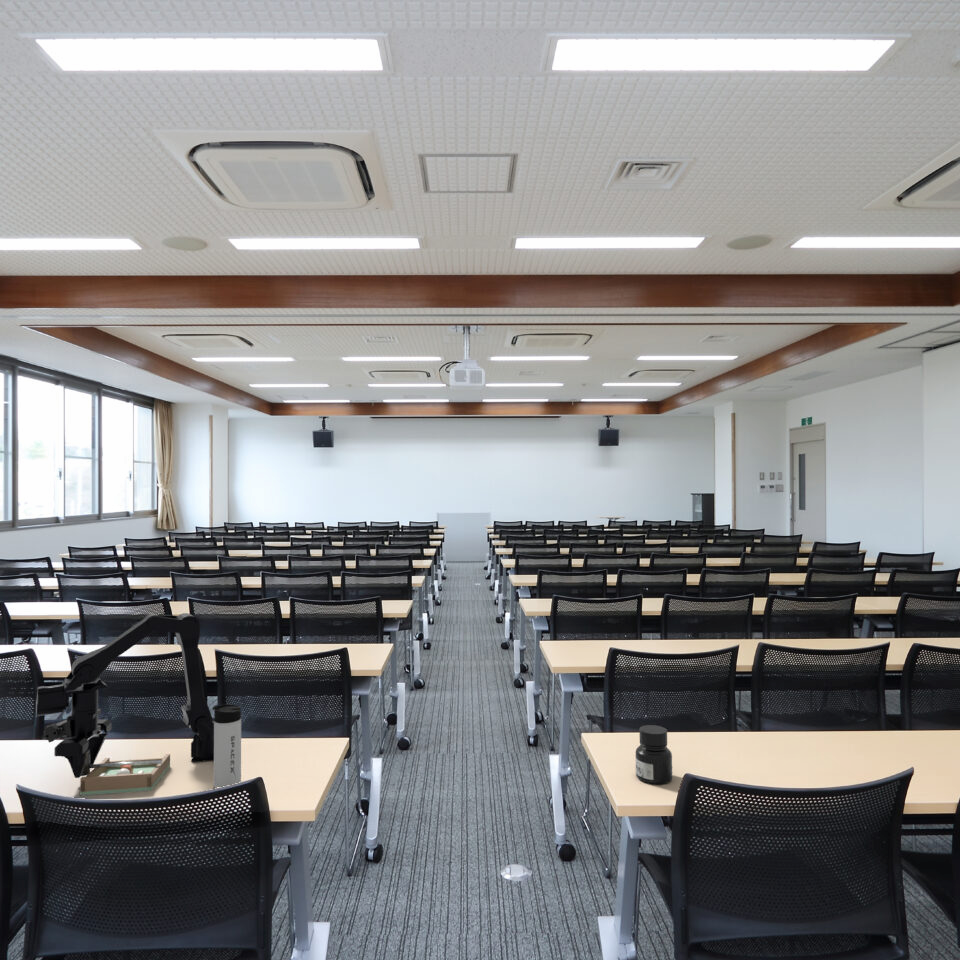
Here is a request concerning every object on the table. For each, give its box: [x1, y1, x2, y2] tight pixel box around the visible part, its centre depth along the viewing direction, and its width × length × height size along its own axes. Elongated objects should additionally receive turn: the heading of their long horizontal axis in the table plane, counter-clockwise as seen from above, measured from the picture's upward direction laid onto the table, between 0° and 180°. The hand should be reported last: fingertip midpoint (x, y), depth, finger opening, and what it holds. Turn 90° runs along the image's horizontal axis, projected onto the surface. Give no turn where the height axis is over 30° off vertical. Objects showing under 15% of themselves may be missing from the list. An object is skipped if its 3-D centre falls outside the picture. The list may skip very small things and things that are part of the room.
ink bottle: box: [635, 724, 673, 785], centre depth 168 cm, size 10×9×12 cm
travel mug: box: [212, 704, 242, 789], centre depth 164 cm, size 6×7×20 cm
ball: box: [116, 768, 130, 775], centre depth 166 cm, size 3×3×3 cm
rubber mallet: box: [80, 751, 162, 777], centre depth 169 cm, size 20×3×6 cm, turn 99°
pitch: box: [79, 753, 171, 796], centre depth 169 cm, size 16×15×4 cm
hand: (84, 771), depth 167 cm, fingers open, 7 cm apart
